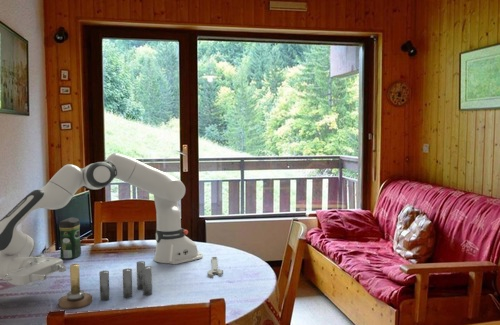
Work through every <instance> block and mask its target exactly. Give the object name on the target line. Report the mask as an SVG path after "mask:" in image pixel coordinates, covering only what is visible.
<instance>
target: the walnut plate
mask: <svg viewBox="0 0 500 325" xmlns="http://www.w3.org/2000/svg"><path fill="white" fill-rule="evenodd" d="M92 302H93V295H92V294H91V293H88V292H84V299H82V300H80V301H75V302H70V301H67V294H66V295H64V296H62V297H60V298H59V299H58V308H60V309H64V310H76V309H77V310H78V309H81V308H85V307H87V306H90V304H92Z"/></svg>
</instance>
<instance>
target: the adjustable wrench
mask: <svg viewBox="0 0 500 325" xmlns="http://www.w3.org/2000/svg"><path fill="white" fill-rule="evenodd" d="M206 274H207V277H209V278H214V275H217V274H218V275H217V276H219V277H222V276H223V274H224V270H223V269H219V268H218V257H217V256H211V269H210V270H208V271H207V273H206ZM221 275H222V276H221Z"/></svg>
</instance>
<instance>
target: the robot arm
mask: <svg viewBox="0 0 500 325" xmlns="http://www.w3.org/2000/svg"><path fill="white" fill-rule="evenodd" d="M114 179H116V180H120V181H121V182H123V183H125V184H126V183H127V184H129V185H131V186H133V187H136V188H137V189H140V190H142V191H145V192H147V193H149V194H150V195H153V200H154V205H155V213H156V214H155V215H156V228H155V241H156V246H155V247H156V248H155V254H154V256H153V260H154V262H156V263H159V264H160V263H161V264H170V265H171V264H172V265H178V264H182V263H188V262H192V261H196V260H200V259H203V254H202V252H201V251H199V250H198V247H197V244H196V243H195V241H193V240H192V239H190V237H188V236H186V235H188V234H189V231H188V229H185V228H182V220H181V219H182V217H181V215H182V214H181V212H182V211H181V209H180V207H179V206H180V205H179V202H178V201H180V200H182V199H183V198H184V196H185V195H186V186H185V184H184V183H183V181H181V179H179V178H177V177H175V176H174V175H171V174H168V173H167V172H164V171H162V170H159V169H157V168H155V167H154V166H151V165H149V164H146V163H144V162H142V161H140V160H137V159H135V158H134V157H131V156H128V155H126V154H123V153H118V152H113V153H111V154H110V155H108V157H107V158H106V160H105V161H97V162H94V163H90V164H88V165H86V166H84V167H82V168H81V167H79V166H77V165H75V164H69V163H67V164H66V165H65V164H64V165H63V167H61V168H60V169H59V170H58V171H57V172H56V173H54V175H53V176H52V177H51V179H49V181H47V183H46V184H45V185H44V186H43V187H41V188H39V189H35V190H34V189H33V190H32V191H31V192H30V193H28V194H27V195H26V196H25V197H24V198H22V199H21V200H20V201H19V202H18V203H17V204H16V205H15V206H14V207H13V208H12V209H11V210H10V211H9V212H8V213H6V215H5V216H3V217H2V218H1V219H0V280H3V281H8V283H10V285H11V284H12V285H14V286H25V285H28V284H30V283H32V282H38V281H41V282H43V281H45V280H47V276H49V275H51V274H53V273H56V272H59V273H64V272H65V271H66V269H67V268H66V266H64V259H63V258H59V257H54V256H53V257H52V256H45V255H44V254H38V255H32V253H33V251H34V249H35V240H34V238H33V237H31V236H29V235H28V234H27V233H25V232H23V231H21V230H19V229H18V226H19V225H20V224H21V223H22V222H23V221H24V220H25V219H26V218H27V217H28V216H29V215H31V213H32V212H34V211H36V210H38V209H39V210H40V209H45V210H59V209H63V208H64V207H66V206H67V205H68V204H69V203H70V201H71V199H73V197H74V196H75V194H76V193H77V191H78V190H80V189H81V188H84V189H87V190H90V191H91V190H101V189H102V188H105V187H107V186H109V185H110V184H111V183H112V181H113V180H114Z"/></svg>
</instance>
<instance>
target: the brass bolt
mask: <svg viewBox="0 0 500 325" xmlns="http://www.w3.org/2000/svg"><path fill="white" fill-rule="evenodd" d="M69 276H70V277H69V278H70V279H69V280H70V291H68V292H67V293H66V295H67V301H70V302H75V301H80V300H82V299H84V293H85V291H84V290H81V280H80V279H81V278H80V277H81V276H80V264H79V263H71V264H70V265H69Z"/></svg>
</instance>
